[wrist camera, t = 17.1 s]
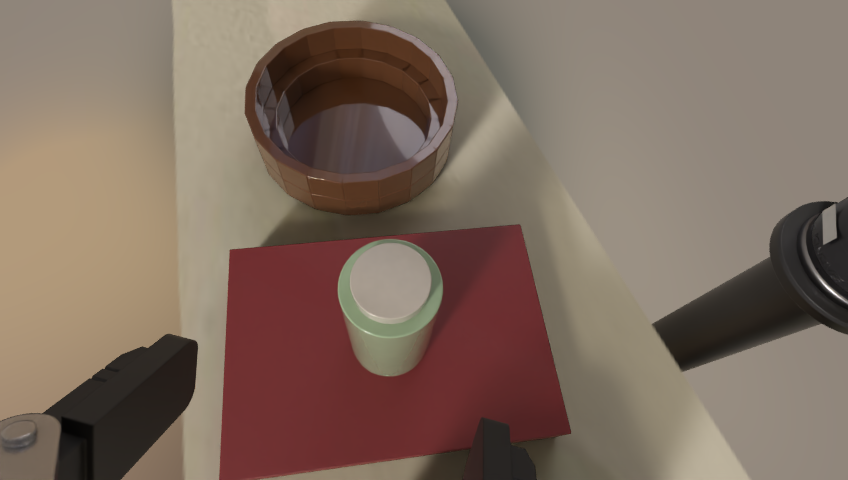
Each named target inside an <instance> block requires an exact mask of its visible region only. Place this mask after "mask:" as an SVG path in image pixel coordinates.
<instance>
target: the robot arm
mask: <svg viewBox="0 0 848 480" xmlns="http://www.w3.org/2000/svg"><path fill="white" fill-rule="evenodd" d="M797 252H798V256H799V259H800V262H801V265H802V267H803V269H804V270H805V272H806V274H807V275H808V277H809V278H810V280H811V281H812V282H813V284H814V285H815V286H816V287H817V288H818V289H819V290H820V291H821V292H822V293H823V294H824V295H825V296H827V297H828V298H829V299H830V300H832V301H833V302H835V303H836V304H838V305H840V306H841V307H843V308H845V309H847V310H848V197H847V198H846V199H844V200H842V201H841V202H839V203H837V204H836V205H835V204H834V205H832V206H830V207H829V208H827V209H825V210H824V211H822V212H820V213H818V214H816V215H815V216H813V217H812V218H810V219H808V220H807V221H806V222H805V223H804V224H803V225H802V227H801V228H800V230H799V233H798V236H797ZM197 353H198V344H197V342H196V341H195V340H191V339H187V338H183V337H180V336H176V335H172V334H166V335H165V336H163V337H162V338H161V339H159V340H158V341H157V342H155V343H154V344H153V345H152V346H150V347H149V348H146V347H140V348H137V349H135V350H132V351H130V352H127V353H125V354H122V355H120V356H119V357H118V358H116V359H115V360H114V361H112V362H111V363H110V364H108V365H107V366H106V367H105V369H102V370H100V371H99V372H97V373H96V374H95V375H93V377H92V379H88V380H87V381H85V382H84V383H83V384H81V385H80V386H79V387H77V388H76V389H75V390H73V391H72V392H70V393H69V394H68V395H66V396H65V397H64V398H62V399H61V400H60V401H58V402H57V403H56V404H54V405H53V406H52V407H50V408H49V409H48V410H46V411H45V412H44V413H42V414H40V413H29V414H22V415H17V416H13V417H10V418H7V419H4V420H2V421H0V480H121V479H122V478H123V477H124V475H125V474H126V473H127V472H128V471H129V470H130V469H131V468H132V467H133V466H134V465H135V463H136V462H137V461H138V460H139V459H140V458H141V457H142V456H143V455H144V454H145V453H146V452H147V450H148V449H149V448H150V447H151V446H152V445H153V444H154V443H155V442H156V441H157V440H158V438H159V437H160V436H161V435H162V434H163V433H164V432H165V431H166V430H167V429H168V428H169V427H170V425H171V424H172V423H173V422H174V421H175V420H176V419H177V418H178V417H179V416H180V415H181V414H182V413H183V411H184V410H185V409H186V408H187V406H188V405H189V403H190V401H191V399H192V396H193V393H194V389H195V380H196V367H197ZM463 480H537V479H536V472H535V466H534V464H533V462H532V460H531V459H530V457H529V455H528V453H527V452H526V450H525V449H523V448H519V447H515V446H511V440H510V428H509V424H507V423H503V422H499V421H495V420H491V419H488V418H484V417H481V419H480V421H479V424H478V427H477V430H476V434H475V437H474V440H473V443H472V446H471V450H470V453H469V456H468V459H467V462H466V466H465V471H464V477H463Z"/></svg>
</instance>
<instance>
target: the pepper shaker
mask: <svg viewBox="0 0 848 480" xmlns="http://www.w3.org/2000/svg"><path fill="white" fill-rule="evenodd" d="M442 297H443V280H442V276H441V273H440V270H439V268H438V266H437V264H436V263H435V261H434V260H433V258H432V257H431V256H430V255H429V254H428V253H427V252H426V251H424V250H423V249H422V248H420V247H418V246H417V245H415V244H413V243H410V242H407V241H403V240H398V239H384V240H378V241H374V242H371V243H369V244H367V245H365V246H363V247H361V248H360V249H358V250H357V251H356V252H355V253H353V254H352V255H351V256H350V258H349V259H348V260H347V261H346V263H345V265H344V266H343V268H342V270H341V273H340V276H339V280H338V298H339V302H340V306H341V309H342V313H343V316H344V320H345V323H346V327H347V331H348V334H349V338H350V341H351V345H352V348H353V352H354V354H355V356H356V358H357V360H358V361H359V362H360V363H361V365H362V366H363V367H365V368H366V369H367V370H369V371H370V372H372V373H374V374H377V375H381V376H398V375H401V374H404V373H406V372H408V371H410V370H412V369H413V368H414V367H415V366H417V365H418V363H419V362H420V361H421V360H422V358H423V356H424V354H425V352H426V350H427V346H428V343H429V340H430V337H431V334H432V330H433V327H434V324H435V321H436V317H437V314H438V311H439V308H440V305H441V301H442Z"/></svg>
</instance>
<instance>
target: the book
mask: <svg viewBox="0 0 848 480" xmlns="http://www.w3.org/2000/svg"><path fill="white" fill-rule="evenodd" d="M384 239H398V240H403V241H407V242H410V243H413V244H415V245H417V246H418V247H420V248H422V249H423V250H424V251H426V252H427V253H428V254H429V255H430V256H431V257H432V258H433V260H434V261H435V263H436V264H437V266H438V268H439V270H440V273H441V276H442V280H443V297H442V301H441V305H440V308H439V311H438V314H437V317H436V321H435V324H434V327H433V330H432V334H431V337H430V340H429V343H428V346H427V350H426V352H425V354H424V356H423V358H422V360H421V361H420V362H419V363H418V365H417V366H415V367H414V368H413V369H412V370H410V371H408V372H406V373H404V374H401V375H398V376H381V375H377V374H374V373H372V372H370V371H369V370H367V369H366V368H365V367H363V366H362V365H361V363H360V362H359V361H358V360H357V358H356V356H355V354H354V352H353V348H352V345H351V341H350V338H349V334H348V331H347V327H346V323H345V320H344V316H343V313H342V309H341V306H340V302H339V298H338V280H339V276H340V273H341V270H342V268H343V266H344V265H345V263H346V261H347V260H348V259H349V258H350V256H351V255H352V254H353V253H355V252H356V251H357V250H358V249H360V248H361V247H363V246H365V245H367V244H369V243H371V242H374V241H378V240H384ZM481 417H484V418H488V419H491V420H495V421H499V422H503V423H507V424H509V428H510V440H511V443H517V442H524V441H532V440H539V439H546V438H553V437H558V436H563V435H567V434H571V430H570V426H569V422H568V418H567V414H566V409H565V405H564V401H563V397H562V393H561V389H560V385H559V381H558V377H557V373H556V369H555V364H554V360H553V356H552V352H551V348H550V344H549V340H548V336H547V332H546V328H545V324H544V319H543V315H542V311H541V307H540V303H539V299H538V295H537V291H536V287H535V283H534V279H533V274H532V270H531V266H530V262H529V258H528V254H527V250H526V246H525V242H524V238H523V234H522V229H521V225H520V224H519V225H507V226H496V227H484V228H473V229H462V230H450V231H439V232H427V233H416V234H404V235H393V236H381V237H370V238H358V239H347V240H336V241H324V242H313V243H301V244H290V245H278V246H267V247H255V248H244V249H232V250H230V258H229V280H228V302H227V323H226V345H225V367H224V388H223V410H222V432H221V453H220V475H219V480H257V479H264V478H271V477H278V476H285V475H292V474H299V473H306V472H314V471H321V470H328V469H335V468H342V467H349V466H356V465H363V464H370V463H377V462H384V461H391V460H398V459H405V458H412V457H419V456H426V455H433V454H440V453H447V452H454V451H461V450H468V449H471V446H472V443H473V440H474V437H475V434H476V430H477V427H478V424H479V421H480V419H481Z"/></svg>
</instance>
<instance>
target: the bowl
mask: <svg viewBox="0 0 848 480" xmlns="http://www.w3.org/2000/svg"><path fill="white" fill-rule="evenodd" d="M457 104H458V99H457V94H456V89H455V84H454V80H453V76H452V75H451V73H450V72H449V70H448V68H447V67H446V65H445V64H444V62H443V61H442V59H441V58H440V56H439V55H438V54H437V53H436V52H434V51H433V50H432V49H431V48H430V47H428V46H427V45H426V44H425V43H423V42H422V41H421V40H420V39H418V38H417V37H415V36H412V35H410V34H408V33H406V32H403V31H401V30H399V29H397V28H394V27H392V26H388V25H382V24H377V23H372V22H366V21H337V22H328V23H324V24H320V25H316V26H312V27H309V28H305V29H302V30H300V31H298V32H296V33H295V34H293V35H291V36H289V37H287V38H285V39H284V40H282V41H280V42H278V43H277V44H275V45H274V46H273V47H272V48H271V49H270V50H269V51H268V52H267V53H266V54H265V55H264V56H263V57H262V58H261V59H260V60H259V61H258V63H257V64H256V66H255V68H254V71H253V73H252V75H251V77H250V79H249V81H248V83H247V85H246V90H245V116H246V118H247V121H248V123H249V126H250V128H251V131H252V133H253V136H254V138H255V141H256V143H257V146H258V148H259V151H260V153H261V156H262V158H263V161H264V163H265V166H266V168H267V171H268V173H269V175H270V176H271V177H272V178H273V179H274V180H275V181H276V182H277V183H278V184H279V185H280V187H281V188H282V189H283V190H284V191H285V192H286V193H287V194H289V195H290V196H292V197H294V198H295V199H297V200H299V201H301V202H303V203H305V204H307V205H309V206H311V207H312V208H314V209H317V210H322V211H327V212H332V213H337V214H343V215H358V214H371V213H380V212H383V211H385V210H388V209H391V208H393V207H396V206H399V205H401V204H404V203H407V202H409V201H411V200H412V199H413V198H415V197H416V196H417V195H418V194H420V193H421V192H422V191H424V190H425V189H426V188H427V187H429V186H430V185H431V184H432V183H433V182H434V180H435V179H436V177H437V175H438V174H439V172H440V171H441V169H442V168H443V166H444V165H445V163H446V161H447V156H448V151H449V146H450V141H451V136H452V131H453V126H454V120H455V115H456V110H457Z"/></svg>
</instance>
